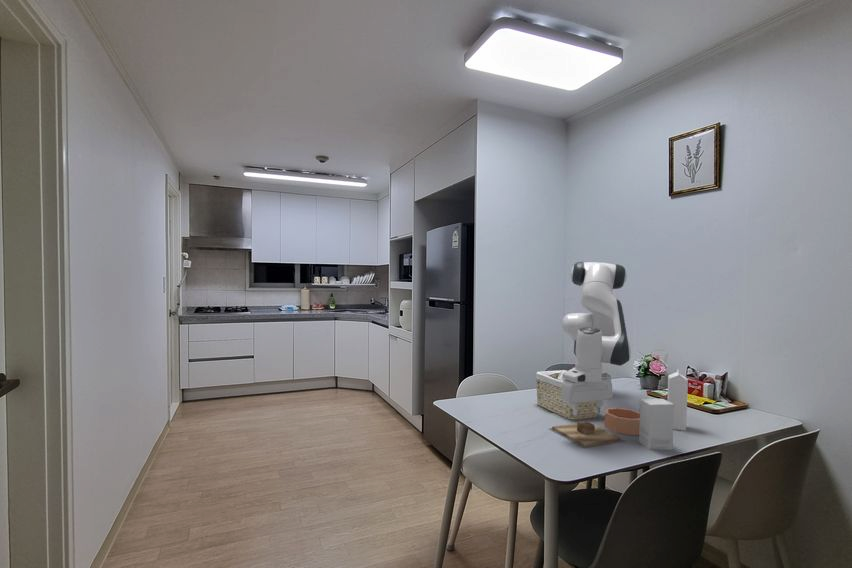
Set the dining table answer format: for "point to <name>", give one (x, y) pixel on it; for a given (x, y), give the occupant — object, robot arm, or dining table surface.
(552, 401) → the storage basket
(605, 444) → the rubber mat
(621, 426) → the terracotta bowl
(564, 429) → the oak lid
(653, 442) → the skincare box
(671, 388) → the milk
